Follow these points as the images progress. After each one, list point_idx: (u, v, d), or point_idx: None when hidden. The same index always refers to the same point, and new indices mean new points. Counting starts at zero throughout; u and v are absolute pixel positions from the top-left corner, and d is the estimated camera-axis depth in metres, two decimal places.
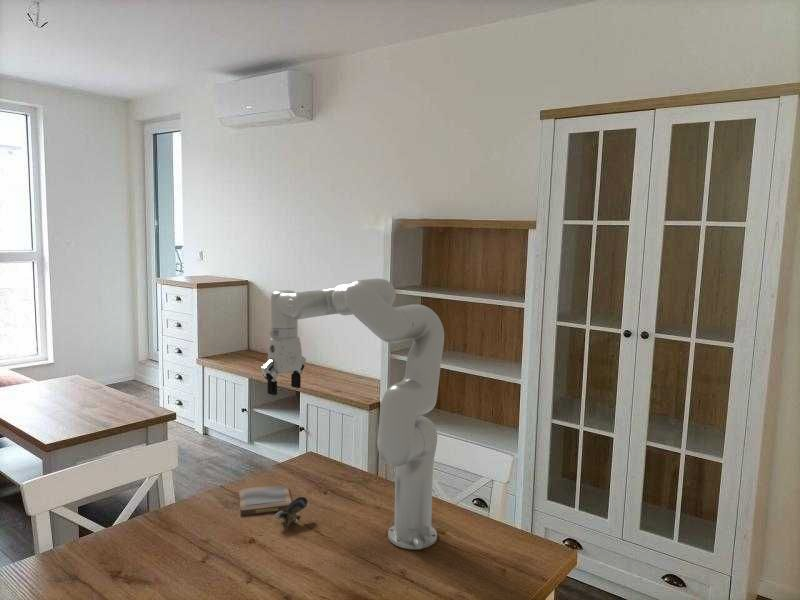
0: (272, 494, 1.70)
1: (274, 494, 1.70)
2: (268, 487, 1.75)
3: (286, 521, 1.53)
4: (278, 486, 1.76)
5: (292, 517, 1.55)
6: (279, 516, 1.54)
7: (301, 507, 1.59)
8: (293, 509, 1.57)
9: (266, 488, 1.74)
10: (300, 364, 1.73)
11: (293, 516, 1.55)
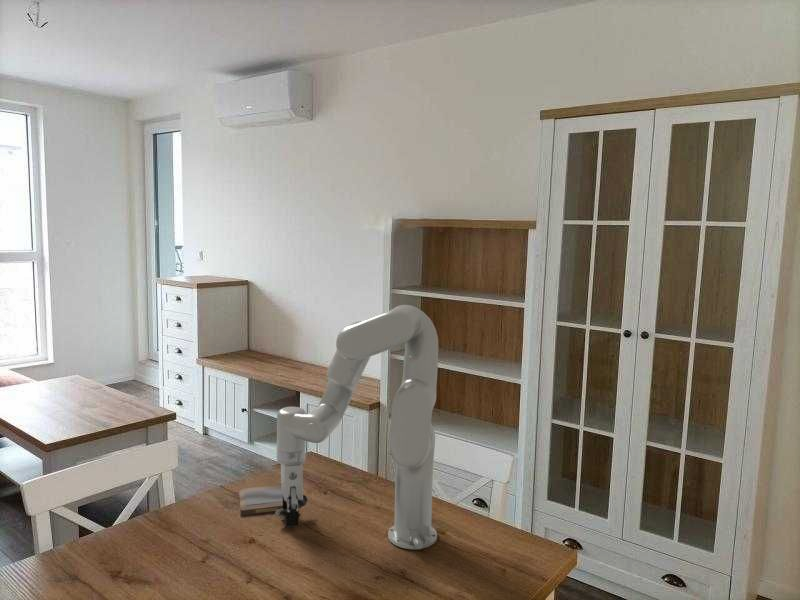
0: (272, 494, 1.70)
1: (274, 494, 1.70)
2: (268, 487, 1.75)
3: None
4: (278, 486, 1.76)
5: None
6: (279, 513, 1.55)
7: (301, 505, 1.60)
8: None
9: (266, 488, 1.74)
10: None
11: None
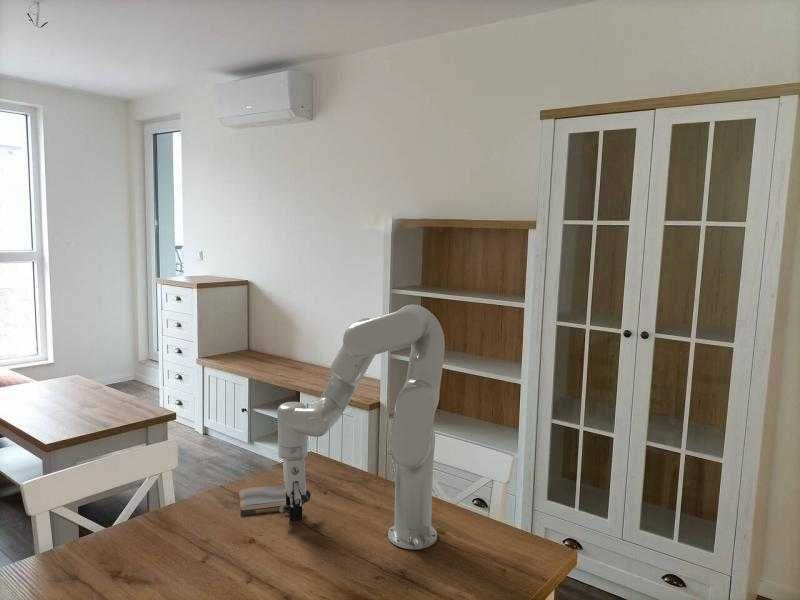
0: (272, 494, 1.70)
1: (274, 494, 1.70)
2: (268, 487, 1.75)
3: None
4: (278, 486, 1.76)
5: None
6: (283, 510, 1.55)
7: (305, 500, 1.60)
8: None
9: (266, 488, 1.74)
10: None
11: None
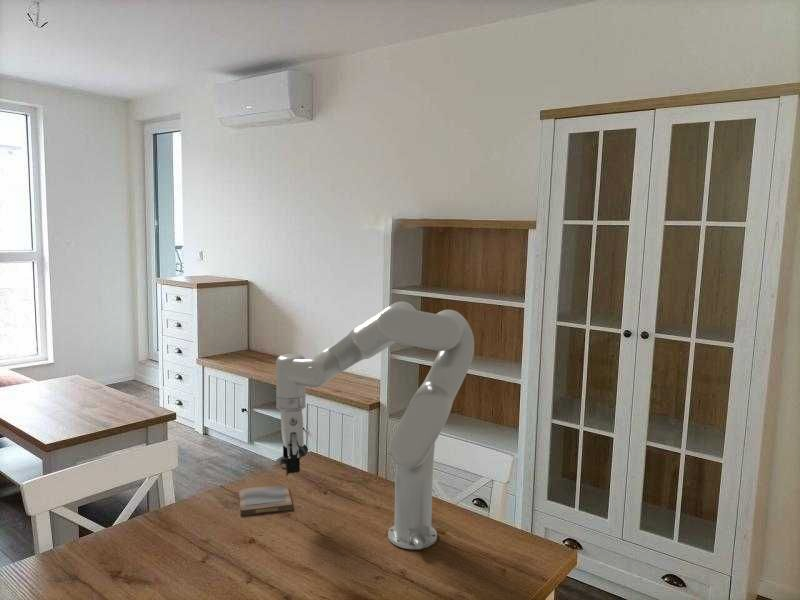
0: (272, 494, 1.70)
1: (274, 494, 1.70)
2: (268, 487, 1.75)
3: None
4: (278, 486, 1.76)
5: None
6: (280, 462, 1.54)
7: (302, 454, 1.59)
8: None
9: (266, 488, 1.74)
10: None
11: None
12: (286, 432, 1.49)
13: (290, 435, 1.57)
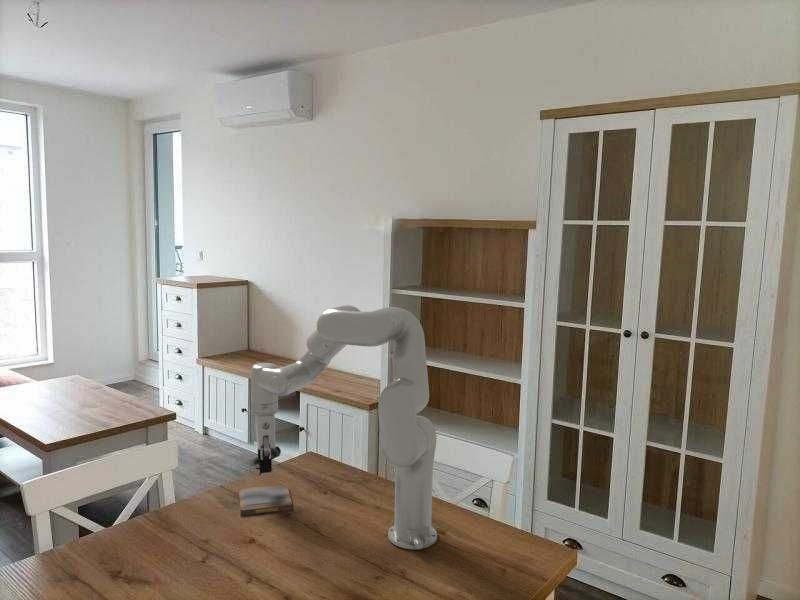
0: (272, 494, 1.70)
1: (274, 494, 1.70)
2: (268, 487, 1.75)
3: None
4: (278, 486, 1.76)
5: None
6: (254, 462, 1.67)
7: (275, 455, 1.71)
8: None
9: (266, 488, 1.74)
10: None
11: None
12: (259, 435, 1.62)
13: None
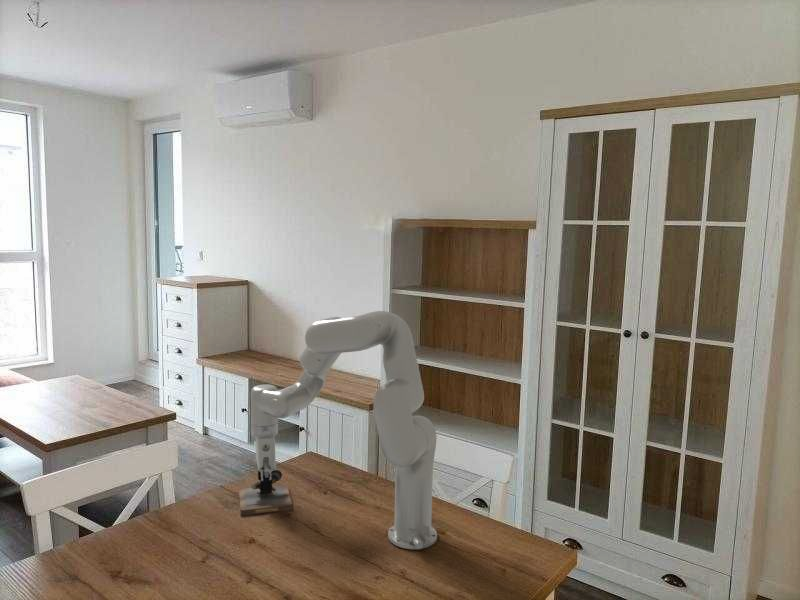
0: (272, 494, 1.70)
1: (274, 494, 1.70)
2: None
3: None
4: (278, 486, 1.76)
5: None
6: (255, 487, 1.67)
7: (276, 479, 1.72)
8: None
9: None
10: None
11: None
12: (259, 457, 1.62)
13: None
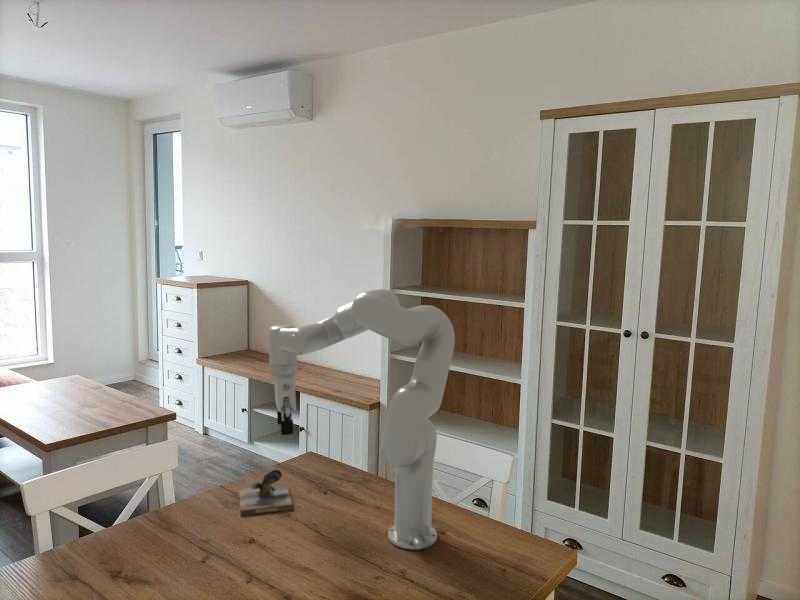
0: (272, 494, 1.70)
1: (274, 494, 1.70)
2: None
3: (261, 491, 1.66)
4: (278, 486, 1.76)
5: (267, 488, 1.68)
6: (255, 487, 1.68)
7: (276, 479, 1.72)
8: (268, 481, 1.70)
9: None
10: None
11: (268, 487, 1.69)
12: (279, 397, 1.59)
13: None
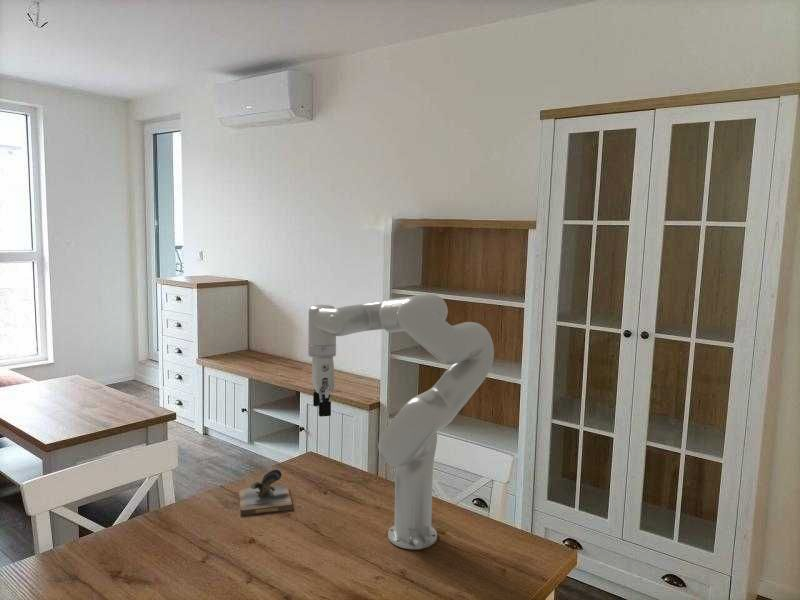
0: (272, 494, 1.70)
1: (274, 494, 1.70)
2: None
3: (261, 491, 1.66)
4: (278, 486, 1.76)
5: (267, 487, 1.69)
6: (255, 486, 1.68)
7: (275, 479, 1.72)
8: (268, 480, 1.70)
9: None
10: None
11: (267, 487, 1.69)
12: (318, 378, 1.57)
13: None
